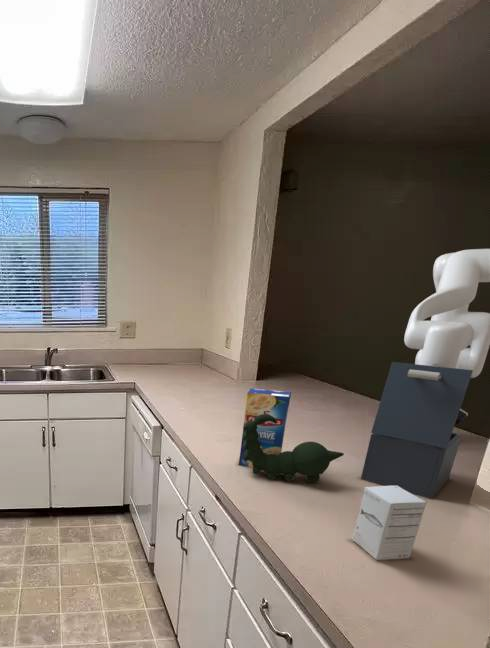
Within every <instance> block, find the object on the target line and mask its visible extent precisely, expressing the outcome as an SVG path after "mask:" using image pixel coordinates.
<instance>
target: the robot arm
mask: <svg viewBox="0 0 490 648" xmlns="http://www.w3.org/2000/svg"><path fill="white" fill-rule="evenodd" d="M432 268H433V269H432V277H433V284H434V289H435V293H433V294H431V295H430V296H428V297H426V298H425V299H424V300H422V301H421V302H420V303H418V304H417V305H416V307H415V308H414V309H413V310H412V312H411V314H410V316H409V318H408V323H407V326H406V328H405V332H404V338H403V341H404V345H405V346H406V347H407V348H409V349H412V350H418V351H417V353H416V354H415V355H416V356H415V360H414V364H417V365H427V366H436V367H446V368H456V369H465V370H473V372H472V375H471V378H470V379H474V378H477V377H478V376H479V375H480V374H481V373H482V370H483V368H484V365H485V362H486V359H487V356H488V352H489V349H490V312H484V311H469V307H470V304H471V302H473V301H474V300H475V298H476V296H477V292H478V287H479V283H490V248H473V249H472V248H471V249H463V250H459V251H456V252H449V253H444V254H442V255H439V256H438V257H437V258H436V259H435V261H434V264H433V267H432ZM430 317H431V318H430ZM428 318H430V320H426V319H428ZM468 415H469V413H468V412H467V411H465V410H464V409H462V408H460V410H459V413H458V416H457V419H456V422H455V425H454V426H456V425H458V424H460V423H461V422H462V421H463V420H465V418H467V417H468Z"/></svg>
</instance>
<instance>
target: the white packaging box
mask: <svg viewBox="0 0 490 648" xmlns="http://www.w3.org/2000/svg"><path fill="white" fill-rule="evenodd" d="M426 506H427V501H425V500H424V499H422V498H420V497H419V496H416V494H413V493H410V492H408V491H406V490H404V489H402V488H400V487H399V486H385V485H376V486H365V487H364V491H363V495H362V499H361V503H360V506H359V510H358V515H357V518H356V522H355V527H354V531H353V535H352V538H351V540H352V541H353V542H354V543H356V544H357V545H358V546H359V547H360V548H362V549H363V550H364V551H365V552H367V553H368V554H369V555H370V556H371V557H372V558H374V559H375V560H376V561H384V560H387V561H388V560H400V559H401V560H402V559H403V560H404V559H409V558H410V557H411V554H412V551H413V548H414V544H415V541H416V538H417V535H418V531H419V528H420V525H421V521H422V518H423V515H424V512H425V509H426Z"/></svg>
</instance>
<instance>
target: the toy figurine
mask: <svg viewBox="0 0 490 648" xmlns="http://www.w3.org/2000/svg"><path fill="white" fill-rule="evenodd" d="M267 421H271V422H274V423H275V424H276V423H277V420H276V419H275V418H274V417H273V416H271V415H268V414H261V415H258V416H256V418H255V419H254V422H253V421H248V422H246V423H244V422H243V425H242V430H243V429H244V430H245V432H244V433H243V432H242V435H243V439H245V441H244V442H243V445H244V446H243V449H244V450H246V452H244V453H243V457H242V459H243V460H244V461H248V460H249V461H251V462H252V464H253V467H252V469H251V471H252V473H253V474H255V475H257V474H260V472H261V471H263V473H264V474H266V475H267V478H268V479H269V480H275V478H276V476H280V475H283V478H284V479H285V480H286V481H294V479H295V475H296V474H299V475H301V476H304V477H306V480H307V481H308V482H309V483H313V484H314V483H318V482H319V481H320V478H321V475H324V473H325V472H326V471H327V469H328V468H329V466H330V464H331V462H332V461H334V460H337V459H339V458H341V457H343V456H344V455H345V453H344V452H340V451H335V450H334V451H333V450H328V449H327V448H326V447H325V446H324V445H323V444H321V443H319V442H316V441H304V442H302V443H299V444H298V445H296V446H295V447H294V448H293V449H292V450H286V451H281V453H280V454H279V455H277V454H269V455H268V454H266V453H263V450H262V449H261V448H260V442H259V440H258V436H259V434H258V432H257V431H256V430H257V425H261V424H263V423H264V422H267Z"/></svg>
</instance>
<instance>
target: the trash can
mask: <svg viewBox="0 0 490 648" xmlns="http://www.w3.org/2000/svg"><path fill="white" fill-rule="evenodd" d="M462 436H463V434H462V433H461V434H460V433H456V432H452V434H451V437H450V440H449V443H448V446H447V449H445V448H441V447H436V446H431V445H426V444H422V443H417V442H412V441H407V440H403V439H398V438H393V437H388V436H384V435H379V434H374V433H370V438H369V442H368V446H367V451H366V455H365V459H364V464H363V467H362V471H361V477H360V480H364V481H367V482H371V483H374V484H378V485H380V486H399V487H400V488H402V489H404V490H406V491H408V492H409V493H411V494H413V495H417V496H420V497H424V498H426V499H427V498H428V499H433V497H435V495H436V494H437V493H438V492H439V490H440V489H441V488H442V487H443V486H444V485H445V484H446V482H447V481H448V480H449V479H450V476H451V472H452V469H453V466H454V464H455V459H456V457H457V454H458V450H459V446H460V443H461V441H462V438H463V437H462Z"/></svg>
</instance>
